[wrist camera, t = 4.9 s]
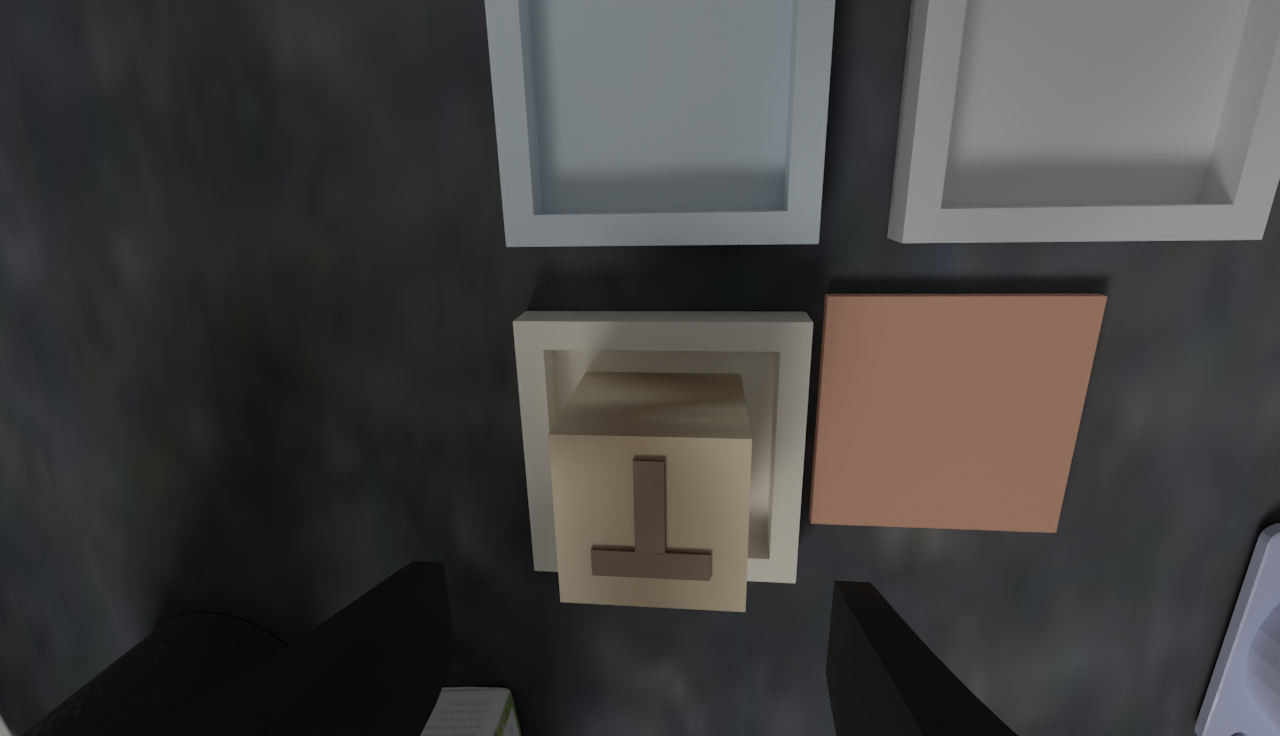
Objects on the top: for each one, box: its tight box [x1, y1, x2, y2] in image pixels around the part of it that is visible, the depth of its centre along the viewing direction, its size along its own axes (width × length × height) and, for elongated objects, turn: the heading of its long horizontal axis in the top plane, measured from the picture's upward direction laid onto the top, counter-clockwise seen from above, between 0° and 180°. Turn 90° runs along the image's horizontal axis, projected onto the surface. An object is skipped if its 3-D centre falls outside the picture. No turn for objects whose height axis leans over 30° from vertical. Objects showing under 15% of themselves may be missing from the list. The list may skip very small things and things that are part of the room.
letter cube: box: [548, 372, 752, 612], centre depth 16 cm, size 4×4×5 cm
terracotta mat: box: [809, 293, 1107, 533], centre depth 17 cm, size 7×7×1 cm
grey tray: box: [887, 0, 1280, 243], centre depth 14 cm, size 8×8×1 cm
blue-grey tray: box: [485, 0, 835, 247], centre depth 15 cm, size 8×8×1 cm
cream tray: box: [513, 311, 813, 583], centre depth 18 cm, size 8×8×1 cm
